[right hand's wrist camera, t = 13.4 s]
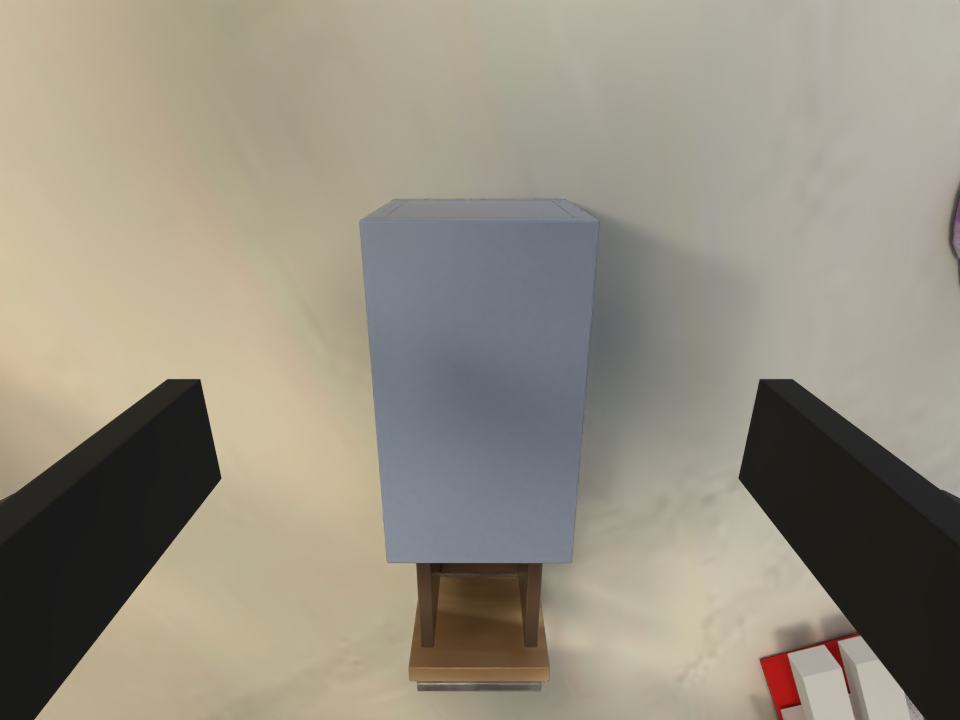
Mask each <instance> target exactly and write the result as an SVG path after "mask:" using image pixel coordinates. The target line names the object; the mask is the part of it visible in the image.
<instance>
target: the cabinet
mask: <svg viewBox="0 0 960 720" xmlns="http://www.w3.org/2000/svg"><path fill="white" fill-rule="evenodd" d="M599 223H600V222H599V220H597V219H595V217H593V216H591V215H590V214H588V213H587V212H585V211H583V210H582V209H580V208H579V207H577V206H575V205H574V204H572V203H571V202H569V201H567V200H566V199H393V200H392V201H390V202H389V203H387V204H385V205H384V206H382V207H381V208H379V209H377V210H376V211H374V212H372V213H371V214H369V215H368V216H366V217H364V218H363V219H362V220H360V222H359V224H360V236H361V248H362V260H363V273H364V285H365V297H366V310H367V322H368V334H369V347H370V359H371V371H372V384H373V396H374V408H375V421H376V433H377V445H378V458H379V470H380V482H381V495H382V507H383V519H384V531H385V544H386V556H387V563H571V562H572V551H573V539H574V527H575V515H576V503H577V491H578V478H579V466H580V454H581V442H582V430H583V418H584V406H585V393H586V381H587V369H588V357H589V345H590V333H591V321H592V308H593V296H594V284H595V272H596V260H597V248H598V235H599Z"/></svg>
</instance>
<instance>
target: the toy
mask: <svg viewBox="0 0 960 720" xmlns="http://www.w3.org/2000/svg"><path fill="white" fill-rule="evenodd" d="M760 662H761V665H762V668H763V671H764V674H765V677H766V680H767V683H768V686H769V689H770V692H771V695H772V698H773V702H774V705H775V708H776V711H777V714H778V717H779V720H919V719H918V718H917V717H916V715H915V714H914V713H913V712H912V711H911V709H910V708H909V707H908V706H907V702H906V697H905V693H904V691H903V690H902V688H901V687H900V686H899V685H898V683H897V682H896V681H895V679H894V678H893V677H892V676H891V674H890V673H889V672H888V670H887V669H886V668H885V667H884V665H883V664H882V663H881V661H880V660H879V659H878V658H877V656H876V655H875V654H874V652H873V651H872V650H871V649H870V647H869V646H868V645H867V643H866V642H865V641H864V640H863V638H862V637H861V636H860V634H855V635H851V636H848V637H844V638H840V639H836V640H833V641H829V642H825V643H822V644H818V645H814V646H810V647H807V648H803V649H799V650H796V651H792V652H788V653H784V654H781V655H777V656H773V657H770V658H766V659H762V660H760ZM924 720H926V719H925V718H924Z"/></svg>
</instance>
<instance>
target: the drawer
mask: <svg viewBox="0 0 960 720" xmlns="http://www.w3.org/2000/svg"><path fill="white" fill-rule="evenodd" d="M416 567H417V585H418V603H417V610H416V618H415V625H414V632H413V640H412V647H411V654H410V662H409V680H410V681H417V689H418V691H541V681H549V673H550V665H549V658H548V650H547V643H546V635H545V628H544V620H543V613H542V606H541V598H540V595H541V577H542V563H416ZM441 573H518V577H440V576H441Z"/></svg>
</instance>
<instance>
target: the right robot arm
mask: <svg viewBox="0 0 960 720" xmlns="http://www.w3.org/2000/svg"><path fill="white" fill-rule="evenodd" d="M220 480H221V474H220V469H219V465H218V460H217V455H216V451H215V446H214V441H213V437H212V432H211V427H210V423H209V418H208V413H207V409H206V404H205V399H204V395H203V390H202V385H201V380H200V379H167V380H166V381H165V382H163V383H162V384H161V385H159V386H158V387H157V388H155V389H154V390H153V391H151V392H150V393H149V394H147V395H146V396H144V397H143V398H142V399H140V400H139V401H138V402H136V403H135V404H134V405H132V406H131V407H130V408H128V409H127V410H126V411H124V412H123V413H122V414H120V415H119V416H118V417H116V418H115V419H114V420H112V421H111V422H110V423H108V424H107V425H106V426H104V427H103V428H102V429H100V430H99V431H98V432H96V433H95V434H94V435H92V436H91V437H90V438H88V439H87V440H86V441H84V442H83V443H82V444H80V445H79V446H78V447H76V448H75V449H74V450H72V451H71V452H70V453H68V454H67V455H66V456H64V457H63V458H62V459H60V460H59V461H58V462H56V463H55V464H54V465H52V466H51V467H50V468H48V469H47V470H46V471H44V472H43V473H42V474H40V475H39V476H38V477H36V478H35V479H34V480H32V481H31V482H30V483H28V484H27V485H25V486H24V487H23V488H21V489H20V490H19V491H17V492H16V493H14V494H12V495H10V496H8V497H6V498H4V499H2V500H0V720H34V719H35V718H36V717H37V715H38V714H39V713H40V712H41V710H42V709H43V708H44V706H45V705H46V704H47V703H48V701H49V700H50V699H51V697H52V696H53V695H54V694H55V692H56V691H57V690H58V688H59V687H60V686H61V685H62V683H63V682H64V681H65V679H66V678H67V677H68V676H69V674H70V673H71V672H72V670H73V669H74V668H75V667H76V665H77V664H78V663H79V661H80V660H81V659H82V658H83V656H84V655H85V654H86V652H87V651H88V650H89V649H90V647H91V646H92V645H93V643H94V642H95V641H96V640H97V638H98V637H99V636H100V634H101V633H102V632H103V630H104V629H105V628H106V627H107V625H108V624H109V623H110V621H111V620H112V619H113V618H114V616H115V615H116V614H117V612H118V611H119V610H120V609H121V607H122V606H123V605H124V603H125V602H126V601H127V600H128V598H129V597H130V596H131V594H132V593H133V592H134V591H135V589H136V588H137V587H138V585H139V584H140V583H141V582H142V580H143V579H144V578H145V576H146V575H147V574H148V573H149V571H150V570H151V569H152V567H153V566H154V565H155V564H156V562H157V561H158V560H159V558H160V557H161V556H162V554H163V553H164V552H165V551H166V549H167V548H168V547H169V545H170V544H171V543H172V542H173V540H174V539H175V538H176V536H177V535H178V534H179V533H180V531H181V530H182V529H183V527H184V526H185V525H186V524H187V522H188V521H189V520H190V518H191V517H192V516H193V515H194V513H195V512H196V511H197V509H198V508H199V507H200V506H201V504H202V503H203V502H204V500H205V499H206V498H207V497H208V495H209V494H210V493H211V491H212V490H213V489H214V488H215V486H216V485H217V484H218V482H219V481H220ZM739 480H740V481H741V482H742V484H743V485H744V486H745V488H746V489H747V490H748V491H749V493H750V494H751V495H752V497H753V498H754V499H755V500H756V502H757V503H758V504H759V506H760V507H761V508H762V509H763V511H764V512H765V513H766V515H767V516H768V517H769V518H770V520H771V521H772V522H773V524H774V525H775V526H776V527H777V529H778V530H779V531H780V533H781V534H782V535H783V536H784V538H785V539H786V540H787V542H788V543H789V544H790V545H791V547H792V548H793V549H794V551H795V552H796V553H797V555H798V556H799V557H800V558H801V560H802V561H803V562H804V564H805V565H806V566H807V567H808V569H809V570H810V571H811V573H812V574H813V575H814V576H815V578H816V579H817V580H818V582H819V583H820V584H821V585H822V587H823V588H824V589H825V591H826V592H827V593H828V594H829V596H830V597H831V598H832V600H833V601H834V602H835V603H836V605H837V606H838V607H839V609H840V610H841V611H842V612H843V614H844V615H845V616H846V618H847V619H848V620H849V621H850V623H851V624H852V625H853V627H854V628H855V629H856V630H857V632H858V633H859V634H860V636H861V637H862V638H863V640H864V641H865V642H866V643H867V645H868V646H869V647H870V649H871V650H872V651H873V652H874V654H875V655H876V656H877V658H878V659H879V660H880V661H881V663H882V664H883V665H884V667H885V668H886V669H887V670H888V672H889V673H890V674H891V676H892V677H893V678H894V679H895V681H896V682H897V683H898V685H899V686H900V687H901V688H902V690H903V691H904V692H905V694H906V695H907V696H908V697H909V699H910V700H911V701H912V703H913V704H914V705H915V706H916V708H917V709H918V710H919V712H920V713H921V714H922V715H923V717H924V718H925V719H926V720H960V498H958V497H956V496H954V495H952V494H950V493H948V492H946V491H944V490H940V489H939V488H937V487H936V486H935V485H933V484H932V483H931V482H929V481H928V480H926V479H925V478H924V477H922V476H921V475H920V474H918V473H917V472H916V471H914V470H913V469H912V468H910V467H909V466H908V465H906V464H905V463H904V462H902V461H901V460H900V459H898V458H897V457H896V456H894V455H893V454H892V453H890V452H889V451H888V450H886V449H885V448H884V447H882V446H881V445H880V444H878V443H877V442H876V441H874V440H873V439H872V438H870V437H869V436H868V435H866V434H865V433H864V432H862V431H861V430H860V429H858V428H857V427H856V426H854V425H853V424H852V423H850V422H849V421H848V420H846V419H845V418H844V417H842V416H841V415H840V414H838V413H837V412H836V411H834V410H833V409H832V408H830V407H829V406H828V405H826V404H825V403H824V402H822V401H821V400H820V399H818V398H817V397H816V396H814V395H813V394H811V393H810V392H809V391H807V390H806V389H805V388H803V387H802V386H801V385H799V384H798V383H797V382H795V381H794V380H793V379H760V380H759V385H758V390H757V395H756V399H755V404H754V409H753V413H752V418H751V423H750V427H749V432H748V437H747V441H746V446H745V451H744V455H743V460H742V465H741V469H740V474H739Z"/></svg>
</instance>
